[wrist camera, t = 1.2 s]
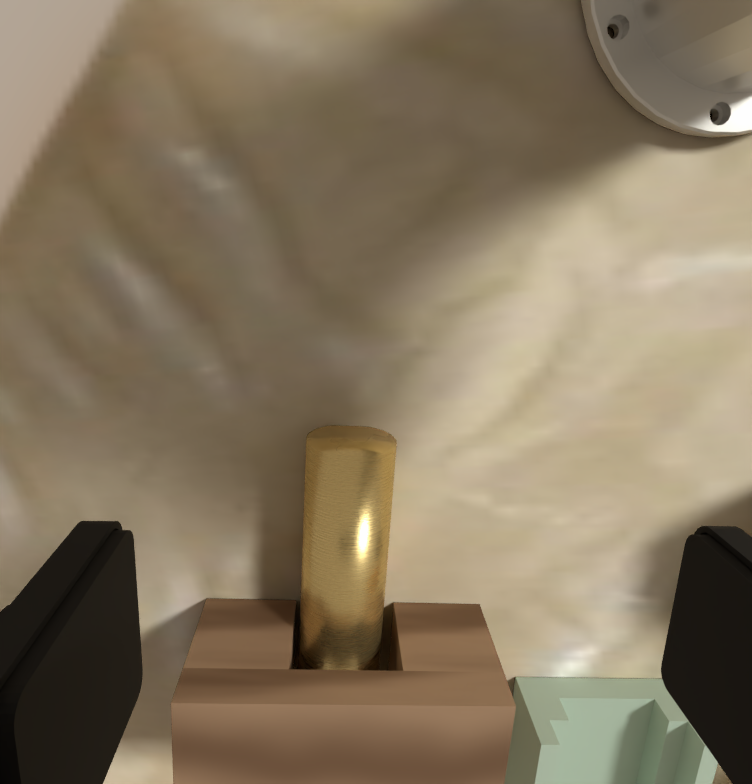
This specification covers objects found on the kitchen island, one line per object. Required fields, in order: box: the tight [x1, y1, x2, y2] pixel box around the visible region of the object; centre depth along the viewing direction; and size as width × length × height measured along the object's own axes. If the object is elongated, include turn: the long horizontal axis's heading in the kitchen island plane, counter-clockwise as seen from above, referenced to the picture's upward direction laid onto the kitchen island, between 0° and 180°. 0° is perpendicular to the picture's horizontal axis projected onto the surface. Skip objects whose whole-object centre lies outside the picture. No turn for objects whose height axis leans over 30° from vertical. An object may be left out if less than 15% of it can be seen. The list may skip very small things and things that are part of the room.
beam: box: [171, 599, 516, 784], centre depth 29 cm, size 5×14×7 cm, turn 86°
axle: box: [298, 425, 397, 671], centre depth 30 cm, size 16×4×4 cm, turn 176°
